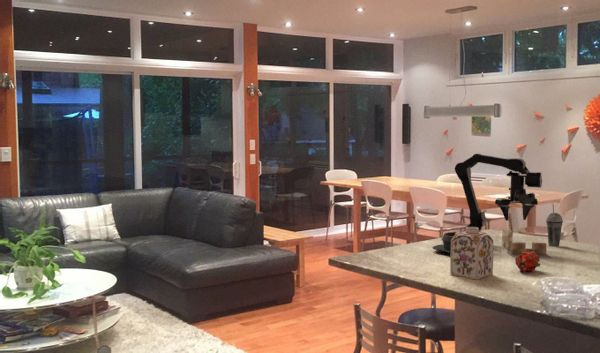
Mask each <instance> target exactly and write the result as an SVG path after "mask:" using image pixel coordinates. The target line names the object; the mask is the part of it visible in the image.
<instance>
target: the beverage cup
mask: <svg viewBox="0 0 600 353" xmlns="http://www.w3.org/2000/svg"><path fill="white" fill-rule="evenodd" d="M551 205H552V212H551V213H550V214H548V215H547V217H546V220H545V222H546V227H547V241H548V242H547V243H548V247H558V248H559V247H560V244H561V233H562V227H563V223H564V220H563V217H562V216H561V214H559V213H557V212H555V205H554V203H552V204H551Z"/></svg>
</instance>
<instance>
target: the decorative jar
mask: <svg viewBox="0 0 600 353" xmlns="http://www.w3.org/2000/svg"><path fill="white" fill-rule="evenodd" d="M465 228H466V229H465V230H460V231H456V232H457V233H456V234H455V235H454V236H453V238H452V240H451V254H449V256H450V259H449V260H450V262H449V267H450V268H449V270H450V272H449V274H450V276H455V277H460V278H463V279H464V278H465V279H469V280H476V281H477V280H479V281H480V280H481V279H484V278H487V277H490V276H493V275H494V274H493V273H494V239H493V238H492V236H491V235H489V233H487V232H484V231H481V230H480V231H481V232H480V231H479V228H477V227H467V226H466V227H465Z"/></svg>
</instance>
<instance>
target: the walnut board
mask: <svg viewBox="0 0 600 353" xmlns="http://www.w3.org/2000/svg"><path fill="white" fill-rule="evenodd" d="M526 244H527V243H526V242H515V241H513V242H512V244H511V254H512V255H519V253H522V252H525V250H528V251H529V252H535V254H537V255H546V254H547V243H546V242H531V248H526Z"/></svg>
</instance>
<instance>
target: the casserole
mask: <svg viewBox="0 0 600 353" xmlns="http://www.w3.org/2000/svg"><path fill="white" fill-rule="evenodd" d="M457 232H458V231H452V232H445V233H443V236H442V237H441V238H440V239H441V241H442V244H436V245H434V246H432V249H433V250H435V251H440V252H444V253H447V254H449V255H451V240H452V238H453V236H454V235H455V234H456V233H457Z"/></svg>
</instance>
